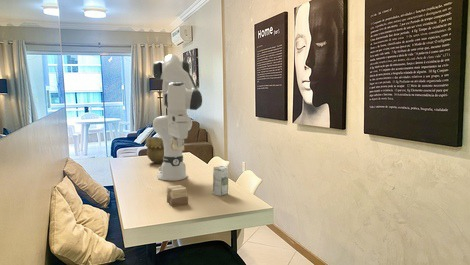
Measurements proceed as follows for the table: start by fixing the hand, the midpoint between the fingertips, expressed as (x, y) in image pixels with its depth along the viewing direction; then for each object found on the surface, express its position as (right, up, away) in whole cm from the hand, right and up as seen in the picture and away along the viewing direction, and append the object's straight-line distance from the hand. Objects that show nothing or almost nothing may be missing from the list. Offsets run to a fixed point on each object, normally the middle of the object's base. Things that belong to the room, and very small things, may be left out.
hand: (177, 146), depth 167 cm
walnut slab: (0, -28, +3) cm, 28 cm away
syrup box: (+20, -26, +19) cm, 38 cm away
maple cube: (0, -2, 0) cm, 2 cm away
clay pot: (-30, -17, +101) cm, 107 cm away
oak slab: (-1, -24, +2) cm, 24 cm away
